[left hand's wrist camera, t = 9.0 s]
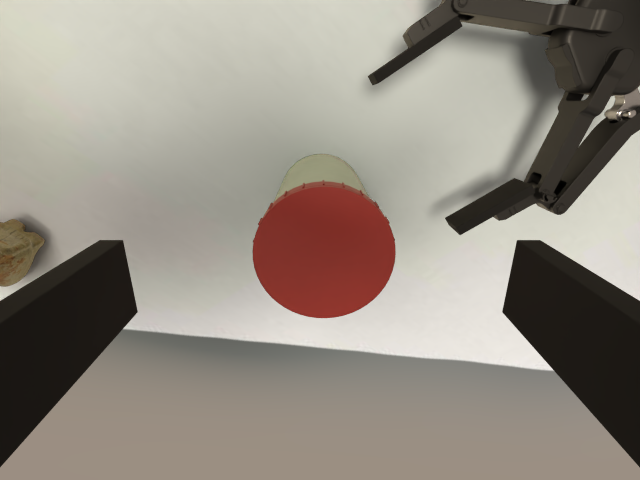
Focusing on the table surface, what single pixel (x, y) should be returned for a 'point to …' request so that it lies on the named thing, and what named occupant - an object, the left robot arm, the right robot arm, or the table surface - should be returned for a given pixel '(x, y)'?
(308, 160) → the jar
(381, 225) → the lid
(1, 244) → the sculpture
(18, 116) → the table surface
